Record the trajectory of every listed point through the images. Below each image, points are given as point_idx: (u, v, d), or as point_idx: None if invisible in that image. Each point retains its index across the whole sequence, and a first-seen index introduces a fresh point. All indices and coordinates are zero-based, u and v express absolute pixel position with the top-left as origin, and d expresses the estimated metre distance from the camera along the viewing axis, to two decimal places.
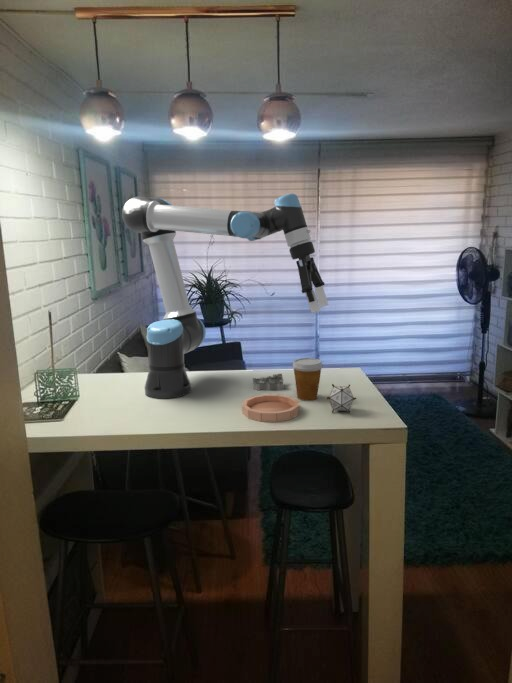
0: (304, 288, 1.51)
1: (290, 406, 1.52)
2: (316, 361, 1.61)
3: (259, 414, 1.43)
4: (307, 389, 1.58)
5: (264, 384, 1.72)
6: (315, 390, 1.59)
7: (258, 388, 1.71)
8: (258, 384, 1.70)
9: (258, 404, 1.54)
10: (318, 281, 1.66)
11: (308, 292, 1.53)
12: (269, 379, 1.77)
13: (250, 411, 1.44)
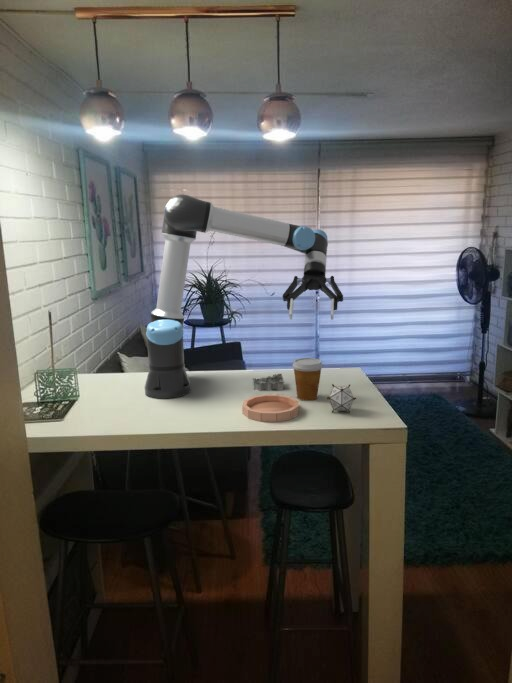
0: (342, 297, 1.69)
1: (290, 406, 1.52)
2: (316, 361, 1.61)
3: (259, 414, 1.43)
4: (307, 389, 1.58)
5: (264, 384, 1.71)
6: (315, 390, 1.59)
7: (259, 388, 1.70)
8: (259, 384, 1.70)
9: (258, 404, 1.54)
10: (295, 298, 1.73)
11: (337, 301, 1.69)
12: (269, 379, 1.76)
13: (250, 411, 1.44)
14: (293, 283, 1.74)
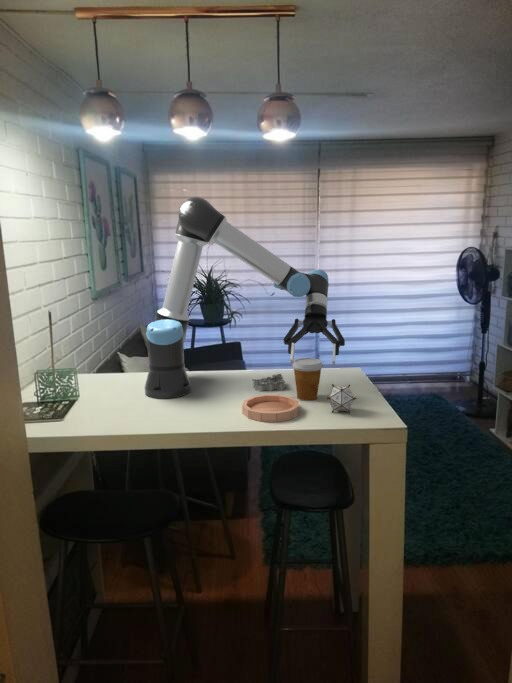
0: (344, 341, 1.67)
1: (290, 406, 1.52)
2: (316, 361, 1.61)
3: (259, 414, 1.43)
4: (307, 389, 1.58)
5: (266, 385, 1.71)
6: (315, 390, 1.59)
7: (260, 389, 1.69)
8: (260, 385, 1.69)
9: (258, 404, 1.54)
10: (296, 341, 1.72)
11: (339, 346, 1.67)
12: (268, 380, 1.76)
13: (250, 411, 1.44)
14: (294, 326, 1.73)
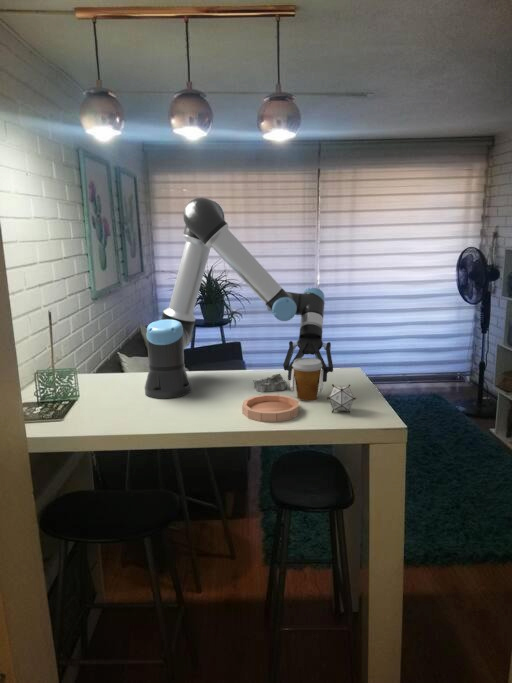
0: (332, 367, 1.61)
1: (290, 406, 1.52)
2: (316, 361, 1.61)
3: (259, 414, 1.43)
4: (307, 389, 1.58)
5: (268, 385, 1.70)
6: (315, 390, 1.59)
7: (263, 390, 1.69)
8: (263, 386, 1.68)
9: (258, 404, 1.54)
10: None
11: (327, 372, 1.61)
12: (268, 380, 1.75)
13: (250, 411, 1.44)
14: (290, 349, 1.66)
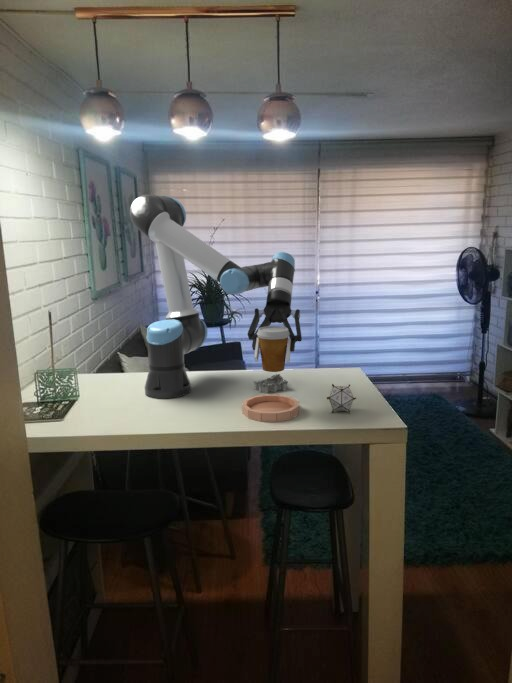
0: None
1: (290, 406, 1.52)
2: (283, 329, 1.47)
3: (259, 414, 1.43)
4: (273, 359, 1.44)
5: (270, 386, 1.69)
6: (281, 360, 1.45)
7: (266, 391, 1.68)
8: (266, 387, 1.67)
9: (258, 404, 1.54)
10: None
11: (295, 341, 1.47)
12: (268, 381, 1.75)
13: (250, 411, 1.44)
14: (256, 317, 1.52)
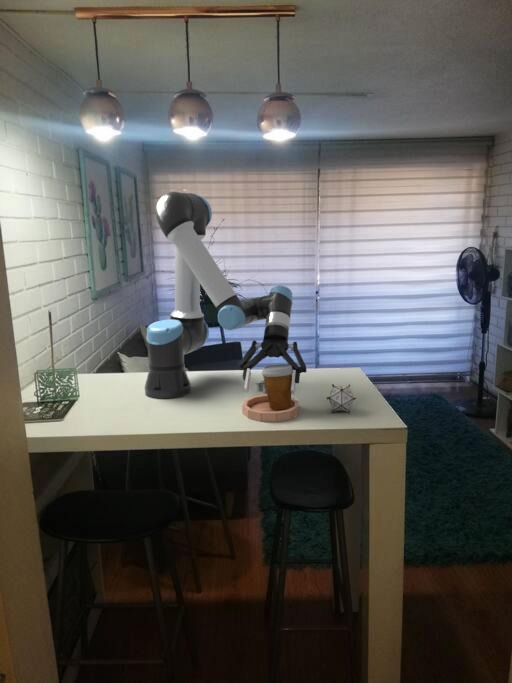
0: None
1: None
2: (286, 366, 1.50)
3: (259, 414, 1.43)
4: (279, 396, 1.47)
5: None
6: (288, 397, 1.48)
7: None
8: None
9: (258, 404, 1.54)
10: (252, 366, 1.53)
11: (299, 373, 1.48)
12: None
13: (250, 411, 1.44)
14: (251, 349, 1.54)
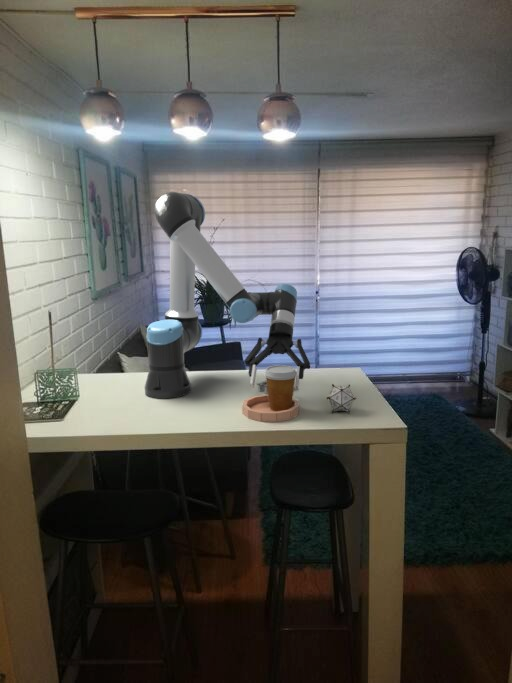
0: (309, 364, 1.54)
1: None
2: (290, 368, 1.49)
3: (259, 414, 1.43)
4: (281, 399, 1.47)
5: None
6: (289, 400, 1.48)
7: None
8: None
9: (258, 404, 1.54)
10: (258, 363, 1.58)
11: (303, 369, 1.54)
12: None
13: (250, 411, 1.44)
14: (257, 346, 1.59)
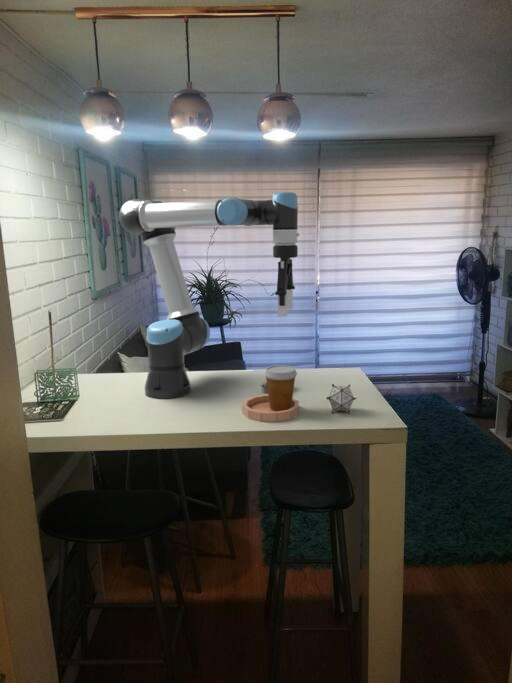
0: (279, 291, 1.50)
1: None
2: (290, 368, 1.49)
3: (259, 414, 1.43)
4: (281, 399, 1.47)
5: None
6: (289, 400, 1.48)
7: None
8: None
9: (258, 404, 1.54)
10: (290, 284, 1.65)
11: (281, 296, 1.52)
12: None
13: (250, 411, 1.44)
14: None
